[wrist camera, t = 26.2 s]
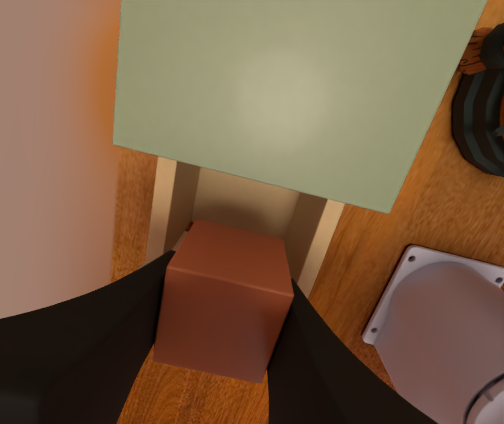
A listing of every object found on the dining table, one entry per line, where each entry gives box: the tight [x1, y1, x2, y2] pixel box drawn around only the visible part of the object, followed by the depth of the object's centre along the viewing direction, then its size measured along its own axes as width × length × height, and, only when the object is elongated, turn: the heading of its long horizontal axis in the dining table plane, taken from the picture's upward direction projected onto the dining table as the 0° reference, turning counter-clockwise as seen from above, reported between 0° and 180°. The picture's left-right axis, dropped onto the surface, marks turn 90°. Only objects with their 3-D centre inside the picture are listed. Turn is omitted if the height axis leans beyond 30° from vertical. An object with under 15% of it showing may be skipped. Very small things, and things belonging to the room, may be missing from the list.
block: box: [152, 219, 294, 383], centre depth 11 cm, size 4×4×4 cm
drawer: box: [139, 156, 345, 299], centre depth 15 cm, size 18×9×7 cm, turn 166°
